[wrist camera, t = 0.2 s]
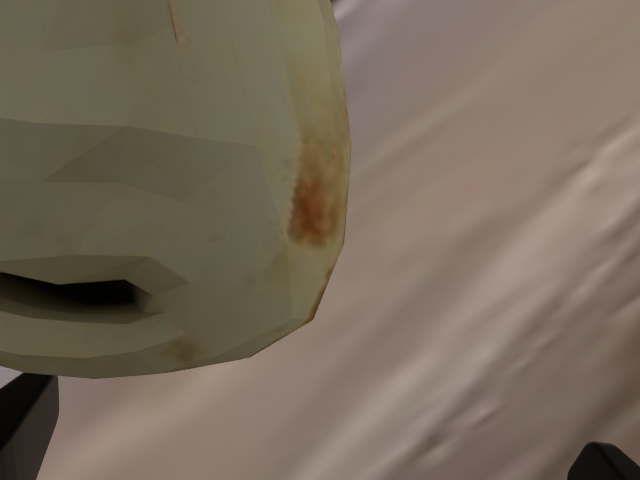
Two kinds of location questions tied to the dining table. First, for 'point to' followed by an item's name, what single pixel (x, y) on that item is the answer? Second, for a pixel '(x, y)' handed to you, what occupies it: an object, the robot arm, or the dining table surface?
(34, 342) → the food model
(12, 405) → the robot arm
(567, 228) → the dining table surface
